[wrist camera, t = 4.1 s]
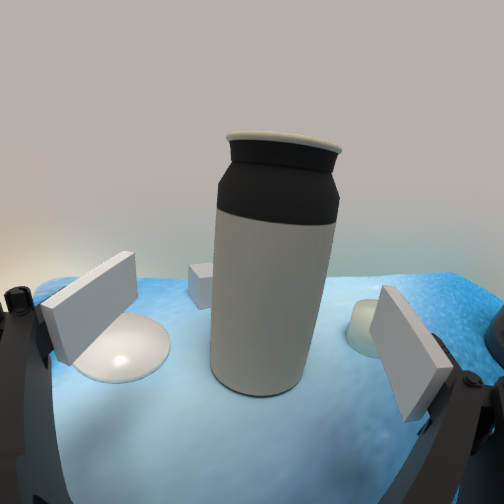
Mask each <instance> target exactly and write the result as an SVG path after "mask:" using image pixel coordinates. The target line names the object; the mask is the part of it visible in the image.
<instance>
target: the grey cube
mask: <svg viewBox="0 0 504 504" xmlns="http://www.w3.org/2000/svg"><path fill="white" fill-rule="evenodd" d="M212 280H213V262H212V263H202V264H192V265H189V271H188V294H189V296H190V297H191V299H192V300H193V301H194V303H195V304H196V306H197V307H198V309H199V310H201V309H207V308H211V305H212Z"/></svg>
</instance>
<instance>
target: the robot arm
mask: <svg viewBox="0 0 504 504" xmlns="http://www.w3.org/2000/svg"><path fill="white" fill-rule="evenodd" d="M4 297H5V301H6V304H7V308H8V311H9V312H3V309H2V305H1V303H0V504H73V502H72V501H71V499H70V497H69V495H68V492H67V488H66V484H65V480H64V476H63V472H62V467H61V462H60V457H59V451H58V445H57V439H56V431H55V423H54V413H53V400H52V374H51V357H50V354H49V353H51V352H52V351H53V350H54V351H55V354H56V357H57V360H58V361H60V362H62V363H64V364H66V365H68V366H71V365H72V364H73V363H74V362H75V361H76V360H77V359H78V358H79V357H80V355H81V354H82V353H83V352H84V351H85V350H86V349H87V348H88V347H89V346H90V345H91V344H92V343H93V342H94V341H95V340H96V339H97V338H98V337H99V336H100V335H101V334H102V333H103V332H104V331H105V330H106V329H107V328H108V327H109V326H110V325H111V324H112V323H113V322H114V321H115V320H116V319H117V318H118V317H119V316H120V315H121V314H122V313H123V312H124V311H125V310H126V309H127V308H128V307H129V306H130V305H131V304H132V303H133V302H134V301H135V300H136V299H137V298H138V292H137V280H136V265H135V253H134V252H128V251H123V252H121V253H119V254H117V255H116V256H114V257H112V258H111V259H109V260H108V261H106V262H104V263H102V264H101V265H99V266H97V267H96V268H94V269H93V270H91V271H89V272H88V273H86V274H85V275H83V276H82V277H80V278H78V279H77V280H75V281H74V282H72V283H71V284H69V285H68V286H65V287H63V288H62V289H60V290H59V291H58V292H56V293H54V294H53V295H52V296H50V297H48V298H47V299H45V300H44V301H43V302H41V303H40V304H38V305H37V306H35V307H34V303H33V299H32V295H31V291H30V289H29V288H28V287H25V286H19V287H15V288H12V289H10V290H8V291H7V292H6V293H5V294H4ZM369 332H370V335H371V337H372V339H373V342H374V344H375V347H376V349H377V351H378V354H379V356H380V359H381V361H382V364H383V366H384V369H385V371H386V374H387V377H388V379H389V382H390V384H391V387H392V390H393V393H394V395H395V398H396V401H397V404H398V406H399V409H400V412H401V415H402V418H403V421H404V422H410V421H418V420H420V419H421V418H422V417H423V415H424V414H425V412H426V411H427V410H428V412H429V415H430V418H429V419H428V420H427V422H426V423H425V424H424V426H423V427H422V428H421V430H420V431H419V432H418V433H417V435H420V436H419V438H418V440H417V442H416V443H415V445H414V447H413V449H412V451H411V453H410V454H409V456H408V458H407V460H406V461H405V463H404V465H403V467H402V468H401V470H400V471H399V473H398V475H397V476H396V478H395V479H394V481H393V482H392V484H391V485H390V487H389V488H388V490H387V491H386V493H385V494H384V496H383V497H382V498H381V500H380V501H379V502H378V504H451V503H452V501H453V499H454V497H455V494H456V492H457V489H458V487H459V484H460V487H459V493H458V499H457V504H504V376H502V377H499V379H498V380H497V382H496V383H495V385H494V386H489V385H484V383H483V381H482V379H481V378H480V377H479V376H478V375H477V374H475V373H473V372H471V371H463V370H462V369H461V367H460V366H459V364H458V363H457V362H456V360H455V359H454V357H453V356H452V354H450V351H449V350H448V349H447V348H446V346H445V344H444V343H443V342H442V340H441V339H440V338H438V337H437V336H436V335H435V334H433V333H430V332H429V330H428V329H427V327H426V326H425V325H424V323H423V322H422V321H421V319H420V318H419V316H418V315H417V314H416V312H415V311H414V310H413V309H412V307H411V306H410V305H409V303H408V302H407V301H406V299H405V298H404V297H403V296H402V294H401V293H400V292H399V291H398V289H397V288H396V287H395V286H386V285H382V289H381V293H380V296H379V299H378V303H377V306H376V309H375V312H374V316H373V319H372V322H371V325H370V328H369ZM485 340H486V344H487V346H488V348H489V350H490V352H491V353H492V355H493V356H494V357H495V358H496V360H497V361H498V362H499V363H500V364H501V365H502V366H503V367H504V305H503V306H502V307H501V309H500V310H499V311H498V313H497V314H496V315H495V317H494V318H493V319H492V321H491V323H490V325H489V328H488V330H487V332H486V335H485ZM494 427H495V430H494V433H493V435H492V429H493V428H494Z"/></svg>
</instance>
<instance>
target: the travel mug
mask: <svg viewBox="0 0 504 504" xmlns="http://www.w3.org/2000/svg"><path fill="white" fill-rule="evenodd" d="M226 138H227V140H228V141H229V143H230V148H231V161H232V163H231V164H230V166H229V168H228V169H227V170H226V172H225V174H224V175H223V177H222V178H221V180H220V182H219V184H218V198H217V210H216V226H215V241H214V259H213V280H212V305H211V340H210V365H211V369H212V371H213V373H214V375H215V376H216V377H217V379H218V380H219V381H220V382H222V383H223V384H224V385H226V386H227V387H229V388H231V389H233V390H235V391H238V392H241V393H244V394H248V395H256V396H267V395H274V394H278V393H281V392H284V391H286V390H288V389H290V388H292V387H293V386H294V385H295V384H296V383H297V382H298V381H299V380H300V378H301V376H302V373H303V370H304V366H305V363H306V359H307V355H308V352H309V348H310V344H311V340H312V336H313V332H314V328H315V324H316V320H317V316H318V311H319V307H320V303H321V298H322V294H323V289H324V284H325V279H326V274H327V269H328V265H329V259H330V254H331V248H332V243H333V237H334V232H335V225H336V219H337V213H338V207H339V200H340V197H339V194H338V191H337V188H336V185H335V182H334V179H333V177H332V174H331V173H332V172H333V169H334V165H335V161H336V159H337V156H338V154H340V153H341V152H342V148H341V147H340V146H339V145H338V144H335V143H333V142H330V141H326V140H323V139H319V138H315V137H310V136H304V135H298V134H291V133H283V132H273V131H235V132H231V133H229V134H228V135H227V137H226Z"/></svg>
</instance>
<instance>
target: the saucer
mask: <svg viewBox="0 0 504 504" xmlns="http://www.w3.org/2000/svg"><path fill="white" fill-rule="evenodd" d="M169 352H170V340H169V335H168V332H167V331H166V329H165V328H164V327H163V326H162V325H161V324H160V323H159V322H157V321H156V320H154V319H152V318H150V317H147V316H144V315H141V314H136V313H127V312H123V313H122V314H121V315H120V316H119V317H118V318H117V319H116V320H115V321H114V322H113V323H112V324H111V325H110V326H109V327H108V328H107V329H106V330H105V331H104V332H103V333H102V334H101V335H100V336H99V337H98V338H97V339H96V340H95V341H94V342H93V343H92V344H91V345H90V346H89V347H88V348H87V349H86V350H85V351H84V352H83V353H82V354H81V355H80V357H79V358H78V359H77V360H76V361H75V362H74V363H73V364H72V365H73V366H74V367H75V368H76V369H77V370H78V371H79V372H80V373H81V374H83V375H84V376H86V377H88V378H90V379H93V380H95V381H99V382H105V383H126V382H131V381H135V380H138V379H141V378H144V377H146V376H148V375H150V374H151V373H153V372H155V371H156V370H157V369H158V368H160V367H161V366H162V365H163V363H164V362H165V361H166V359H167V357H168V355H169Z"/></svg>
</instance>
